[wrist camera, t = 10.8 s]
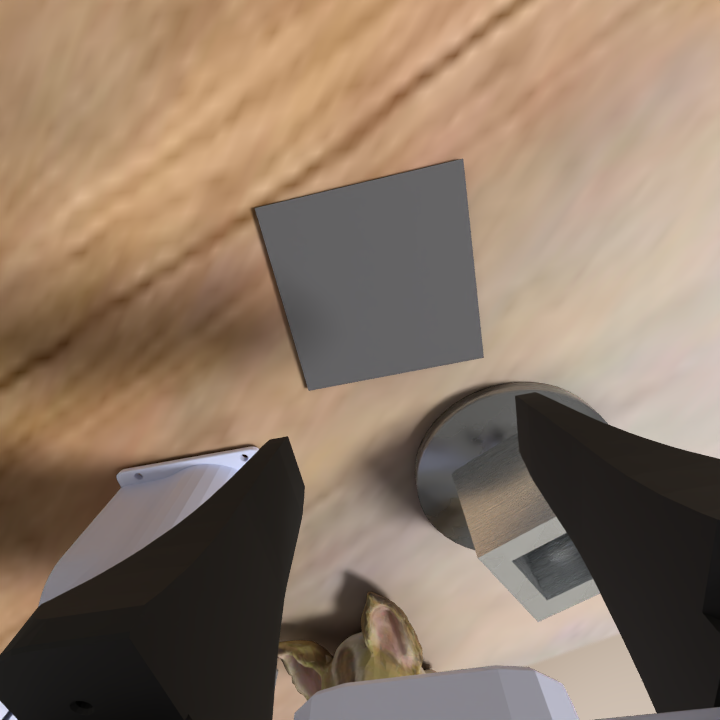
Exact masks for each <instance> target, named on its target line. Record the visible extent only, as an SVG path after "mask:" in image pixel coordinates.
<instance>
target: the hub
mask: <svg viewBox="0 0 720 720" xmlns="http://www.w3.org/2000/svg"><path fill="white" fill-rule="evenodd" d="M533 392H537V393H539V394H542V395H544V396H546V397H548V398H550V399H553V400H555V401H557V402H559V403H561V404H563V405H565V406H567V407H570V408H572V409H574V410H576V411H578V412H580V413H583V414H585V415H587V416H589V417H592V418H594V419H596V420H599V421H601V422H603V423H606V424H608V423H607V422H606V421H605V420H604V419H603V418H602V417H601V416H600V415H599V414H598V413H597V412H596V411H595V410H594V409H593V408H592V407H590V406H589V405H588V404H587V403H586V402H584V401H583V400H582V399H581V398H579V397H578V396H576V395H574V394H572V393H571V392H569V391H566V390H564V389H561V388H559V387H556V386H552V385H548V384H543V383H534V382H515V383H507V384H501V385H497V386H492V387H489V388H486V389H483V390H480V391H478V392H475V393H473V394H471V395H469V396H467V397H465V398H463V399H462V400H460V401H459V402H457V403H455V404H454V405H452V406H451V407H450V408H449V409H448V410H446V411H445V412H444V413H443V414H442V415H441V416H440V417H439V418H438V419H437V420H436V421H435V422H434V423H433V425H432V426H431V427H430V429H429V430H428V432H427V433H426V435H425V437H424V439H423V440H422V442H421V445H420V448H419V450H418V453H417V458H416V463H415V478H416V486H417V491H418V497H419V500H420V503H421V507H422V509H423V511H424V513H425V515H426V516H427V518H428V519H429V521H430V522H431V523H432V525H433V526H434V527H435V528H436V529H437V530H438V531H439V532H441V533H442V534H443V535H444V536H446V537H447V538H449V539H450V540H452V541H454V542H455V543H457V544H460V545H462V546H464V547H467V548H470V549H473V550H475V547H474V544H473V541H472V538H471V534H470V531H469V528H468V525H467V522H466V519H465V515H464V512H463V509H462V506H461V503H460V500H459V496H458V493H457V490H456V487H455V484H454V481H453V477H452V474H451V473H452V472H453V471H455V470H457V469H458V468H460V467H462V466H463V465H465V464H466V463H468V462H470V461H471V460H473V459H475V458H476V457H478V456H480V455H481V454H483V453H485V452H486V451H488V450H490V449H491V448H493V447H494V446H496V445H498V444H499V443H501V442H503V441H504V440H506V439H508V438H509V437H511V436H513V435H514V434H516V433H518V430H517V417H516V403H515V396H516V395H522V394H528V393H533Z"/></svg>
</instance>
